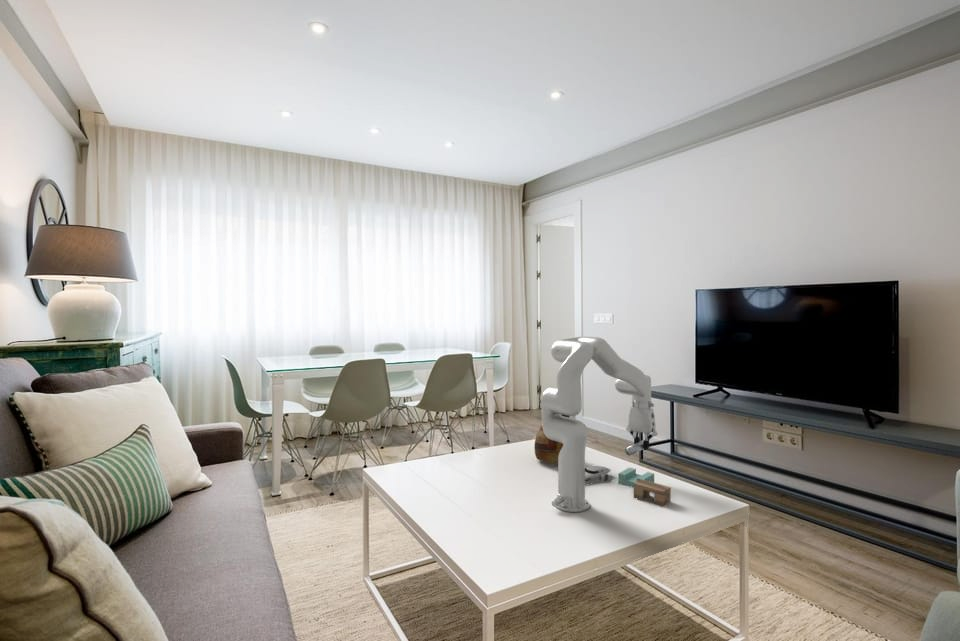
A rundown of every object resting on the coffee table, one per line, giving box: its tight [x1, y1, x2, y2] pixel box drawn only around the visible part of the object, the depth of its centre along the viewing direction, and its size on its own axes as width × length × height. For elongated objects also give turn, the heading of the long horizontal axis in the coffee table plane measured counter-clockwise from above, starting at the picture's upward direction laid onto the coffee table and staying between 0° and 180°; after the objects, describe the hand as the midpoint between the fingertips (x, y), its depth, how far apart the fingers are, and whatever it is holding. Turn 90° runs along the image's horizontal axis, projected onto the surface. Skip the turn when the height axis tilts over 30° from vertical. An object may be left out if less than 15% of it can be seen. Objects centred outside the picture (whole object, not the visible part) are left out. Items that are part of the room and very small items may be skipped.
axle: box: [624, 439, 645, 457], centre depth 193 cm, size 14×3×3 cm, turn 136°
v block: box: [617, 467, 655, 488], centre depth 194 cm, size 10×11×4 cm
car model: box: [585, 465, 612, 486], centre depth 198 cm, size 11×24×5 cm, turn 121°
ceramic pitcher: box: [534, 398, 570, 464], centre depth 221 cm, size 20×20×30 cm
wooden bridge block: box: [633, 480, 672, 507], centre depth 177 cm, size 6×12×6 cm, turn 46°
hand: (641, 448), depth 197 cm, fingers closed on axle, 3 cm apart
